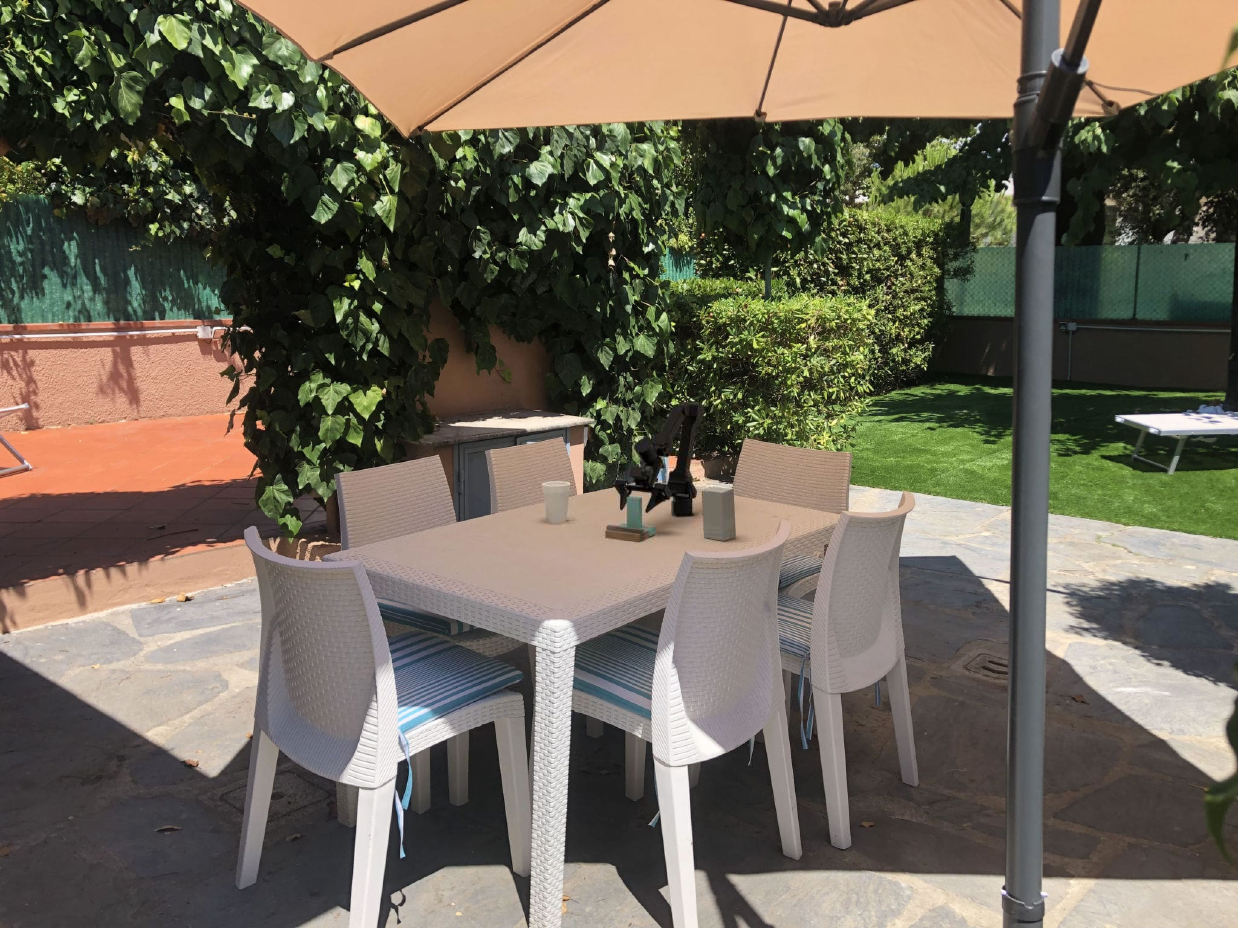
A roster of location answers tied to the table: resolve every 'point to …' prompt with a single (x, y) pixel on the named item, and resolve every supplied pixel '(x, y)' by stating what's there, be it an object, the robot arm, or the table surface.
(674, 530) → the table surface
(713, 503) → the skincare box
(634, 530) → the board
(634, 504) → the teal t-shaped block
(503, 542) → the table surface
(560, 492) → the foam cup
